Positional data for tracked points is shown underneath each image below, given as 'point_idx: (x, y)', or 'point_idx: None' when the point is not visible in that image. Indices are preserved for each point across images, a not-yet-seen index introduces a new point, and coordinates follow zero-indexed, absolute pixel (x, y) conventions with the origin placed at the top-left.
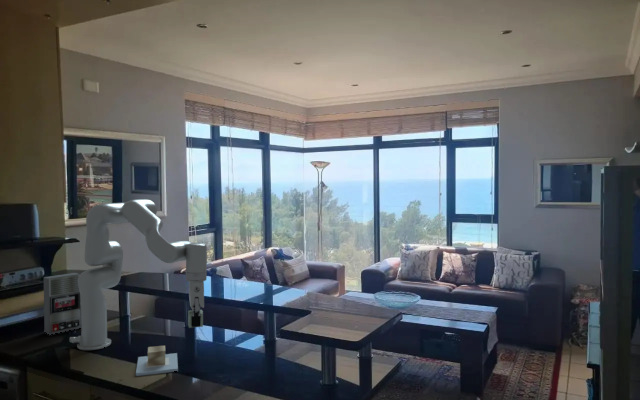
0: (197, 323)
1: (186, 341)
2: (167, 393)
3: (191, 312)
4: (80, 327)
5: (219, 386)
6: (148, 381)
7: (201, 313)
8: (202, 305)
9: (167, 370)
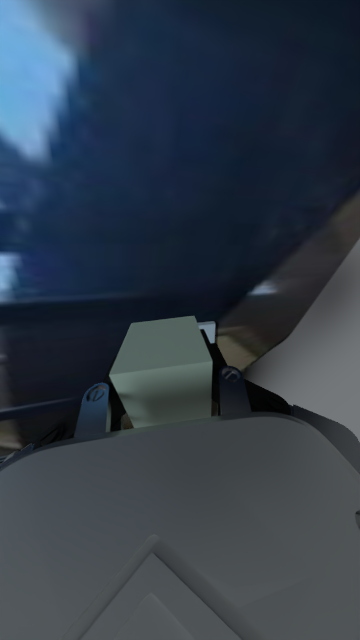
0: (216, 347)
1: (35, 321)
2: (293, 326)
3: (177, 413)
4: (17, 452)
5: (324, 238)
6: (237, 354)
7: (211, 369)
8: (341, 457)
9: (214, 337)
